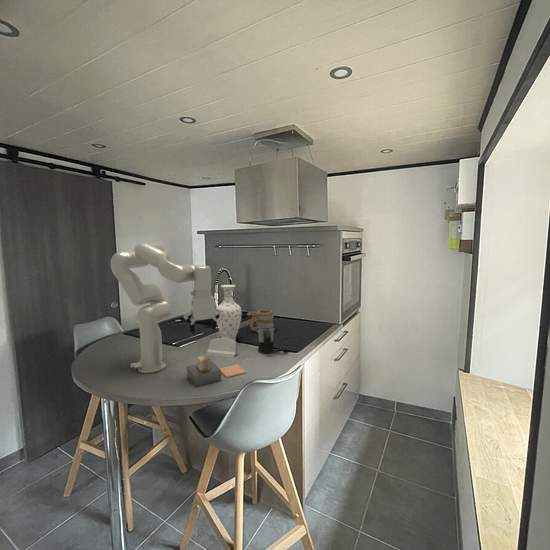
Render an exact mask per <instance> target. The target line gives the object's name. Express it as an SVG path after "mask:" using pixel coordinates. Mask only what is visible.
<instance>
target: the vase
mask: <svg viewBox="0 0 550 550" xmlns="http://www.w3.org/2000/svg"><path fill="white" fill-rule="evenodd" d="M220 287H221V288H222V289H223V293H224V295H223V301H222V302H221V303H220V304H219V305H217V306H216V307H215V308H216V309H218V310H221V311H222V312H221V314H220V317H219V318H218V319H217V321H216V326H217V327H218V331H219V334H220V336H221V337H220V338H229V339H232V340H234V341H236V339H237V335H238V332H239V329H240V325H241V322H242V307H241V306H240V304H238V303H236V302H235V300H234V297H233V296H234V295H233V293H234V288H235V287H236V285H235V284H222V285H221V286H220ZM215 313H216V315H217V312H216V311H215ZM216 315H215V316H216Z"/></svg>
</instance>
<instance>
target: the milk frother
mask: <svg viewBox="0 0 550 550" xmlns="http://www.w3.org/2000/svg"><path fill="white" fill-rule="evenodd" d="M258 327H259V333H258V349H257V352H258V353H259V354H260V353H261V354H272V353H274V352H277V351H278V352H279V351H282V352H286V351H287V350H289V347H286V346H282V347H281V348H277V349H274V329H275V328H274V327H275V325H272V324H260V325H258ZM285 350H286V351H285Z"/></svg>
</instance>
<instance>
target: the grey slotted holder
mask: <svg viewBox="0 0 550 550" xmlns="http://www.w3.org/2000/svg"><path fill="white" fill-rule="evenodd" d="M186 377H187V379H188V378H189V379H188V381H189V382H190V383H191V382H192V383H191V384H192V385H193V387H194V388H197V387H198V386H199V387H203V386H206V385H210V384H213V383H218V382H221V381H222V373H221V370H220V369H219V366H218V365H217V364H216V363H214V362H213V361H212V360H210V370H206V371H202V372H199V371H198V370H197V363H196V364H191V365H187V366H186Z"/></svg>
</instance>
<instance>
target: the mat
mask: <svg viewBox="0 0 550 550" xmlns="http://www.w3.org/2000/svg"><path fill="white" fill-rule="evenodd" d="M218 368H219V367H218ZM219 369H220V370H221V375H223V376H224V378H226V379H229V378H234V377H237V376H241V375H246V374H247V372H246V370H245V369H243V368H242V367H241V366H240V365H239V364H233V365H229V366H225V367H220V368H219Z"/></svg>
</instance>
